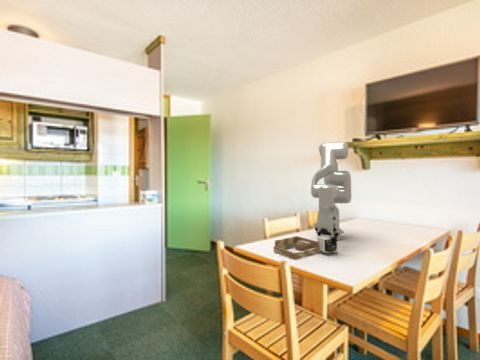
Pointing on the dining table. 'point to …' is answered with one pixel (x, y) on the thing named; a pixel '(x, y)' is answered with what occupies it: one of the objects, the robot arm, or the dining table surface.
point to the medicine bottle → (326, 242)
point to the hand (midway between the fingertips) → (327, 242)
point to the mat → (328, 253)
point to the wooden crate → (290, 243)
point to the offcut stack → (303, 245)
